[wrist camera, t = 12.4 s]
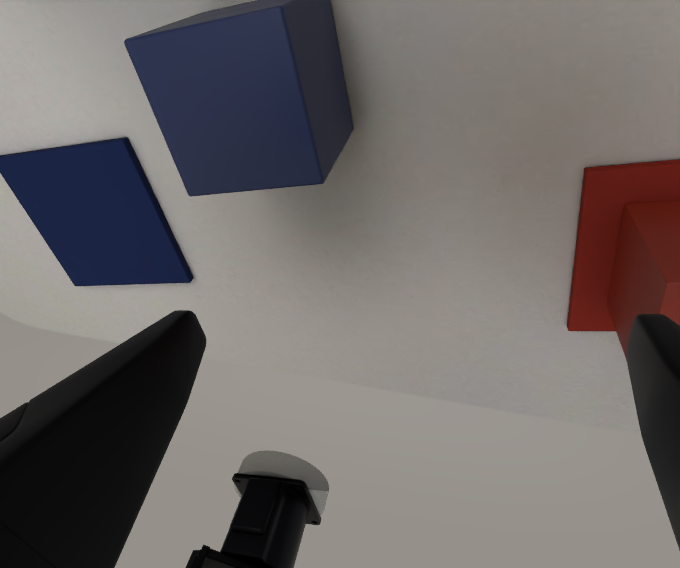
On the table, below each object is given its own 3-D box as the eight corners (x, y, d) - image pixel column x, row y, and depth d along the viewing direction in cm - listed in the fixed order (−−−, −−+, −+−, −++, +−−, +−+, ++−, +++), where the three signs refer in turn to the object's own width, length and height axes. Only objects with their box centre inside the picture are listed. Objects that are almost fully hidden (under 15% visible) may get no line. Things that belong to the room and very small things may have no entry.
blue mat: (193, 278, 26) (190, 282, 25) (79, 282, 28) (74, 286, 28) (127, 136, 21) (122, 140, 21) (-4, 155, 23) (-10, 159, 23)
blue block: (354, 129, 19) (323, 184, 15) (242, 144, 20) (188, 197, 16) (328, -17, 16) (281, 4, 12) (199, 13, 17) (121, 40, 13)
